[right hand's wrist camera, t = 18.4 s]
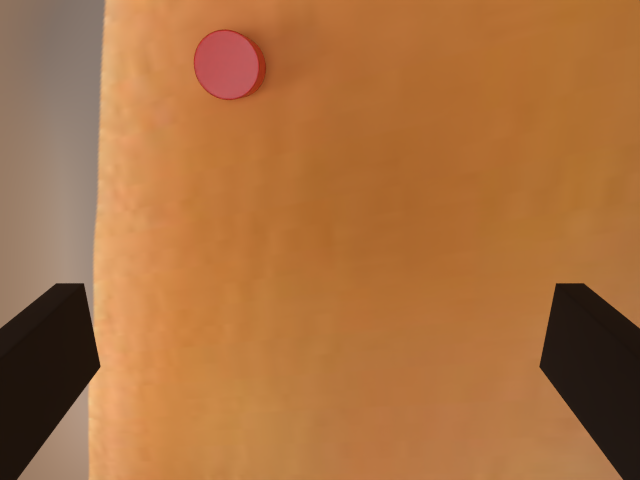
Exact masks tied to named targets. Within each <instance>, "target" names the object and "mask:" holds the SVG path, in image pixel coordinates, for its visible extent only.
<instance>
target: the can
mask: <svg viewBox="0 0 640 480" xmlns="http://www.w3.org/2000/svg"><path fill="white" fill-rule="evenodd" d="M194 69H195V73H196V76H197V78H198V81H199V82H200V84H201V85H202V86H203V88H204V89H205V90H206V91H207V92H209V93H210V94H211V95H213V96H215V97H217V98H220V99H225V100H233V99H238V98H242V97H245V96H248V95H250V94H252V93H254V92H255V91H256V90H257V89H258V88H259V87H260V85H261V84H262V82H263V79H264V76H265V70H266V67H265V60H264V56H263V54H262V52H261V50H260V49H259V47H258V46H257V45H256V44H255V43H254V42H253V41H252V40H250V39H248V38H247V37H245V36H243V35H241V34H240V33H237V32H235V31H231V30H218V31H214V32H212V33H210V34H208V35H207V36H206V37H205V38H203V39H202V41H201V42H200V43H199V45H198V47H197V49H196V52H195V56H194Z"/></svg>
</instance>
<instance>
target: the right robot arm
mask: <svg viewBox="0 0 640 480" xmlns="http://www.w3.org/2000/svg"><path fill="white" fill-rule="evenodd" d="M99 368H100V362H99V357H98V352H97V347H96V342H95V337H94V332H93V327H92V322H91V317H90V312H89V307H88V302H87V297H86V292H85V287H84V284H83V283H63V284H62V283H57V284H55V285H54V286H53V287H51V288H50V289H49V290H48V291H46V292H45V293H44V294H43V295H41V296H40V297H39V298H38V299H36V300H35V301H34V302H33V303H31V304H30V305H29V306H28V307H26V308H25V309H24V310H23V311H22V312H20V313H19V314H18V315H17V316H15V317H14V318H13V319H12V320H10V321H9V322H8V323H7V324H5V325H4V326H3V327H2V328H0V480H17V479H18V477H19V476H20V475H21V473H22V472H23V471H24V469H25V468H26V467H27V465H28V464H29V462H30V461H31V460H32V459H33V457H34V456H35V454H36V453H37V452H38V450H39V449H40V448H41V446H42V445H43V444H44V442H45V441H46V440H47V438H48V437H49V436H50V434H51V433H52V432H53V430H54V429H55V428H56V426H57V425H58V423H59V422H60V421H61V419H62V418H63V417H64V415H65V414H66V413H67V411H68V410H69V409H70V407H71V406H72V405H73V403H74V402H75V401H76V399H77V398H78V396H79V395H80V394H81V392H82V391H83V390H84V388H85V387H86V386H87V384H88V383H89V382H90V380H91V379H92V378H93V376H94V375H95V374H96V372H97V371H98V370H99ZM540 368H541V370H542V371H543V372H544V374H545V375H546V376H547V378H548V379H549V380H550V382H551V383H552V384H553V386H554V387H555V388H556V390H557V391H558V392H559V394H560V395H561V397H562V398H563V399H564V401H565V402H566V403H567V405H568V406H569V407H570V409H571V410H572V411H573V413H574V414H575V415H576V417H577V418H578V419H579V421H580V422H581V423H582V425H583V426H584V428H585V429H586V430H587V432H588V433H589V434H590V436H591V437H592V438H593V440H594V441H595V442H596V444H597V445H598V446H599V448H600V449H601V450H602V452H603V453H604V454H605V456H606V457H607V459H608V460H609V461H610V463H611V464H612V465H613V467H614V468H615V469H616V471H617V472H618V473H619V475H620V476H621V477H622V479H623V480H640V328H638V327H637V326H636V325H635V324H633V323H632V322H631V321H630V320H628V319H627V318H626V317H625V316H623V315H622V314H621V313H620V312H618V311H617V310H616V309H615V308H614V307H612V306H611V305H610V304H609V303H607V302H606V301H605V300H604V299H602V298H601V297H600V296H599V295H597V294H596V293H595V292H594V291H592V290H591V289H590V288H589V287H587V286H586V285H585V284H584V283H556V287H555V292H554V297H553V302H552V307H551V312H550V317H549V322H548V327H547V332H546V337H545V342H544V347H543V352H542V357H541V362H540Z"/></svg>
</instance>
